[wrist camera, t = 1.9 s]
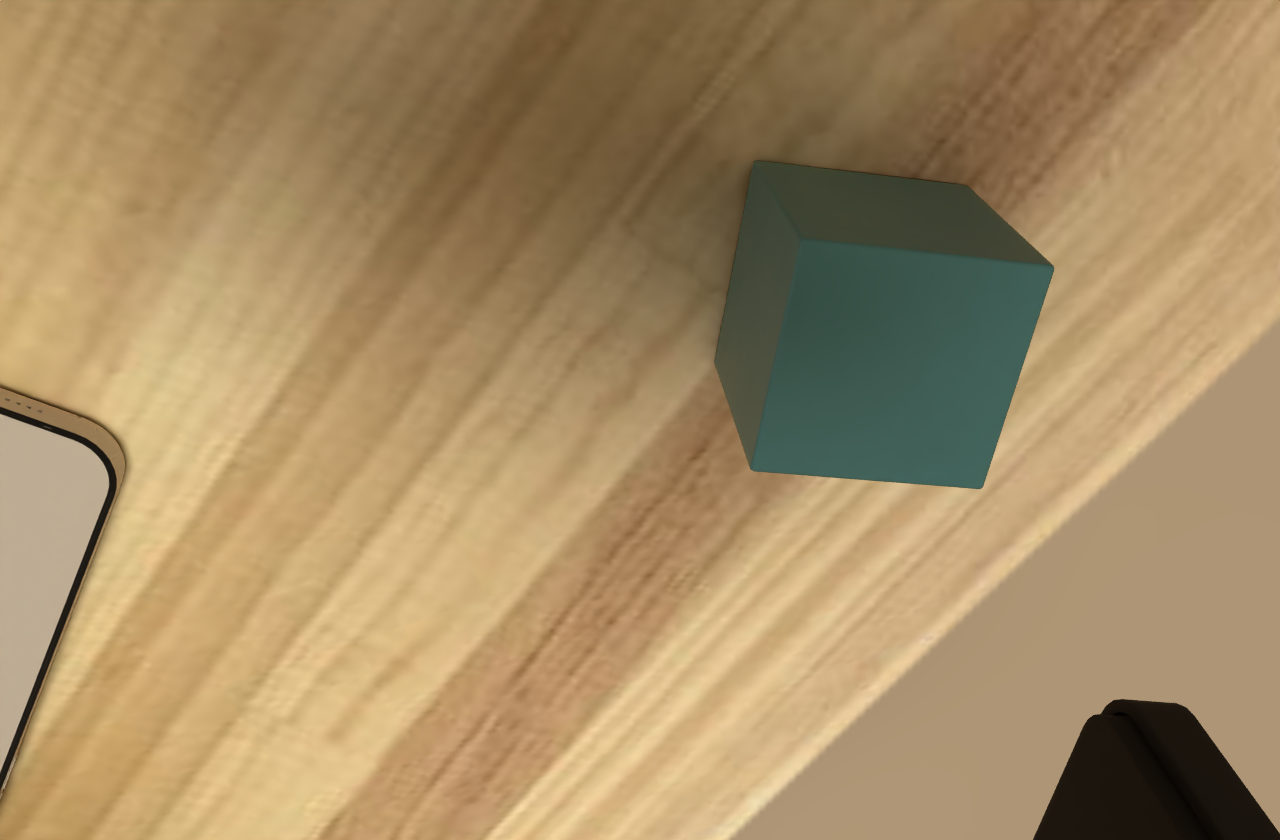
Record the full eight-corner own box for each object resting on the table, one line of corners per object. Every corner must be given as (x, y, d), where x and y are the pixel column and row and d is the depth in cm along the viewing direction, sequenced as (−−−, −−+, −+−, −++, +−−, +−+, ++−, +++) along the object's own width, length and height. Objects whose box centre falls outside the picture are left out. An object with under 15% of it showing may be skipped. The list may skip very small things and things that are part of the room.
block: (752, 159, 24) (801, 238, 20) (968, 184, 24) (1057, 266, 20) (713, 363, 26) (749, 472, 22) (912, 381, 26) (983, 491, 22)
